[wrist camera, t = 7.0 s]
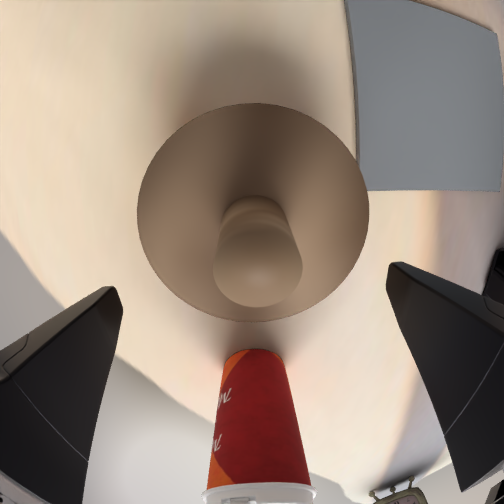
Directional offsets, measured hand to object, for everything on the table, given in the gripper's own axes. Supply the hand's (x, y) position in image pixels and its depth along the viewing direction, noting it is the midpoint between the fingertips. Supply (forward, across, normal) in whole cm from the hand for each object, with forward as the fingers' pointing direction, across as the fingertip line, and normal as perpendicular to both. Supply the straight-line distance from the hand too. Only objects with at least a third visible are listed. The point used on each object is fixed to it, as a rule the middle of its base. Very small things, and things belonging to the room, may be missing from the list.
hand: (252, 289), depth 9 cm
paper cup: (+11, +1, +16) cm, 20 cm away
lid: (+6, 0, 0) cm, 6 cm away
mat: (+11, -14, -7) cm, 19 cm away
